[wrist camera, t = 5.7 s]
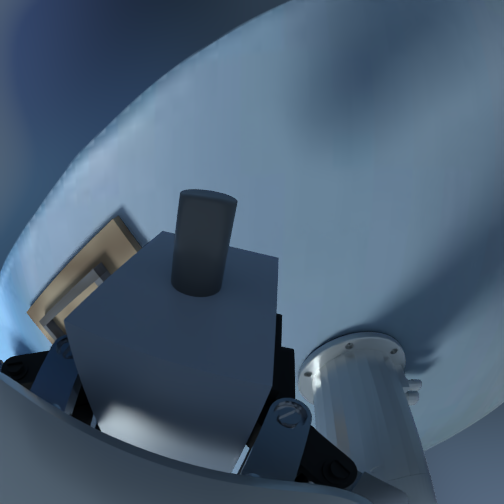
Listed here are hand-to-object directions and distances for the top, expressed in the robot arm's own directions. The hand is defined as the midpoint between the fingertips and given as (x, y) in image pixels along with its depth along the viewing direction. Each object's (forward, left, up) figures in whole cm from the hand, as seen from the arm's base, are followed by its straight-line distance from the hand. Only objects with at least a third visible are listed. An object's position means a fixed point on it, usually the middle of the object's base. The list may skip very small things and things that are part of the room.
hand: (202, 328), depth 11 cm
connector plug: (0, 0, -1) cm, 1 cm away
